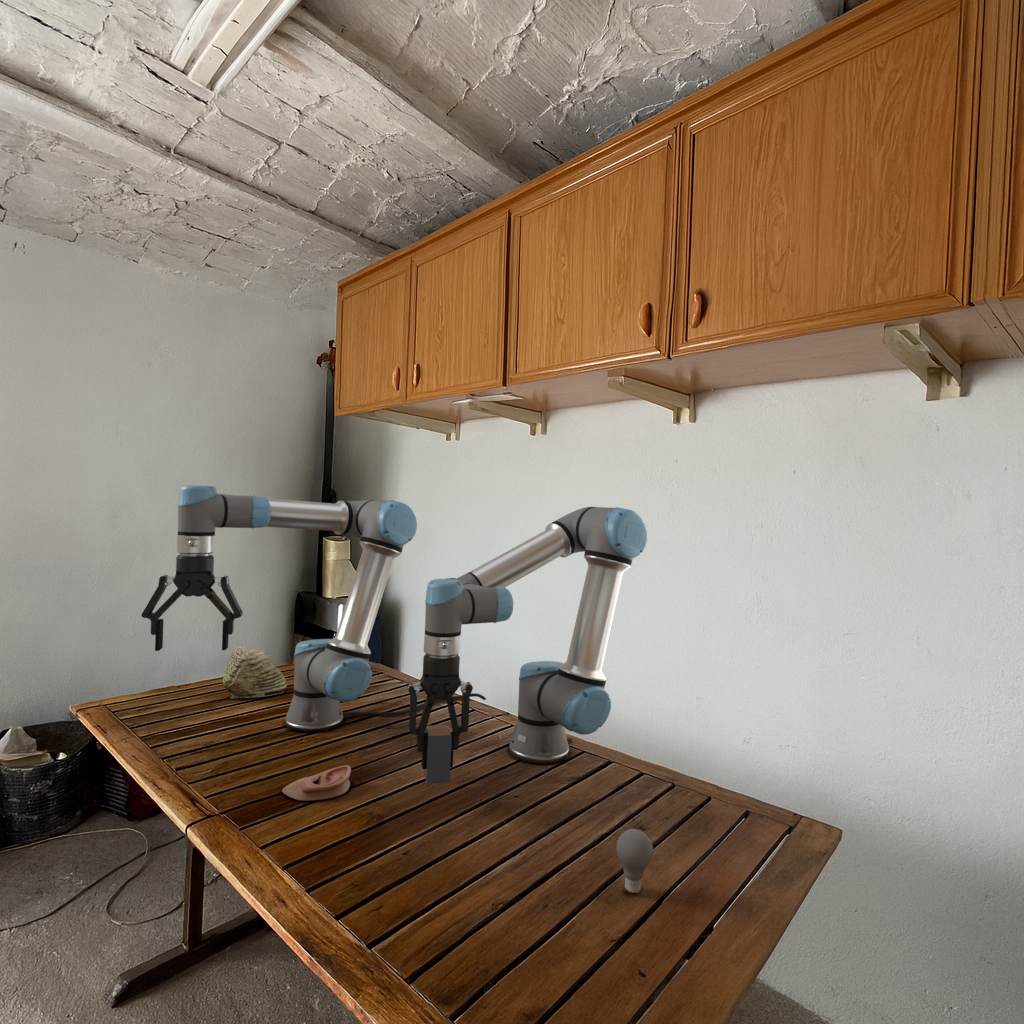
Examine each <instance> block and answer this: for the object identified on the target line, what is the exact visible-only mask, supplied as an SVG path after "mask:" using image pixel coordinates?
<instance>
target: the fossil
mask: <svg viewBox="0 0 1024 1024" xmlns="http://www.w3.org/2000/svg"><path fill="white" fill-rule="evenodd" d="M222 676H223V677H222V685H223V687H224V688H225V690H226V691H228V693H229V698H230V699H250V698H264V697H271V696H275V695H281V694H284V693H285V691H286V689H287V687H288V686H287V680H286V678H285V676H284V674H283V673H282V672H281V669H279V668H278V667H277V665H276V663H275V662H274V660H273V659H272V658H271V657H270V656H269V655H268V654H267V653H266V652H265V650H264V649H263V648H260V647H258V648H251V647H247V646H246V647H245V646H238V647H237V648H236V649H235V650H233V651H232V653H231V656H230V657H229V659H228V660H227V663H226V666H225V668H224V671H223V675H222Z"/></svg>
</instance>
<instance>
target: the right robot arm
mask: <svg viewBox="0 0 1024 1024" xmlns="http://www.w3.org/2000/svg"><path fill="white" fill-rule="evenodd" d="M647 531H648V530H647V526H646V523H644V522H643V518H642V517H641V516H640V514H639V513H637V512H636V511H635V510H632V509H628V508H623V507H618V506H617V507H606V506H605V507H603V506H602V507H601V506H585V507H582V508H579V509H576V510H573V511H571V512H569V513H567V514H565V515H563V516H561V517H560V518H557V519H556V520H554V521H552V522H550V523H548V524H547V525H546V526H545V530H544V531H541V532H540V533H538V534H536V535H535V536H532V537H531V538H529V539H527V540H525V541H523V542H521V543H520V544H518V545H516V546H515V547H512V548H511V549H509V550H507V551H505V552H503V553H501V554H499V555H498V556H496V557H494V558H492V559H490V560H488V561H487V562H485V563H483V564H481V565H480V566H478V567H476V568H474V569H472V570H470V571H469V572H467V573H464V574H461V576H458V577H457V578H456V577H446V578H435V579H431V580H429V581H428V583H427V585H426V586H427V587H426V593H425V599H424V603H425V614H424V615H425V617H424V635H423V636H424V638H423V653H424V655H423V658H422V676H421V678H420V680H419V681H418V682H416V683H408V684H407V689H408V694H409V709H410V712H408V714H409V716H408V730H409V734H410V735H415V736H416V749H417V750H416V751H417V752H418V753H421V763H420V765H421V768H422V770H424V769H426V765H427V742H428V737H427V733H426V727H427V726H428V724H429V721H430V720H429V719H430V716H431V712H432V709H433V706H434V705H435V703H434V701H435V700H440V699H441V700H445V701H446V706H447V711H448V715H449V721H450V725H451V730H452V731H450V732H451V734H452V742H451V764H450V769H453V768H454V751H458V750H459V746H460V736H461V734H462V733H467V732H468V731H469V723H470V722H469V720H470V701H471V700H470V698H471V697H470V695H471V694H472V692H473V689H474V687H473V684H472V683H471V681H467V682H466V681H463V680H462V679H461V677H460V665H461V664H460V661H461V657H460V655H459V654H460V653H461V635H462V625H474V624H490V623H494V624H496V623H500V622H505V621H507V620H509V619H510V618H511V616H512V615H513V612H514V598H513V595H512V593H511V591H510V590H509V589H508V586H510V585H512V584H513V583H516V582H517V581H519V580H521V579H522V578H524V577H526V576H528V575H530V574H531V573H533V572H535V571H537V570H538V569H540V568H542V567H544V566H546V565H547V564H549V563H551V562H552V561H554V560H556V559H558V558H564V559H565V558H567V557H569V556H571V555H573V554H576V553H583V552H584V555H583V558H584V559H585V561H586V563H587V569H586V574H585V578H584V582H583V587H582V590H581V595H580V600H579V605H578V609H577V612H576V613H577V614H576V618H575V623H574V627H573V632H572V636H571V641H570V645H569V648H568V655H567V658H566V661H565V662H564V663H563V662H562V661H555V660H540V661H538V660H537V661H530V662H526V663H523V665H521V667H520V668H519V669H520V670H519V675H518V676H519V677H518V681H519V682H518V683H519V684H518V705H517V722H516V724H515V726H514V730H513V733H512V734H511V735H512V736H511V738H510V740H509V745H508V746H509V750H508V751H509V753H510V755H511V756H512V757H514V758H516V759H518V760H520V761H524V762H526V763H530V764H531V763H532V764H541V765H544V764H545V765H547V764H556V763H559V762H562V761H564V760H567V758H568V757H569V755H570V754H569V753H570V746H569V743H570V742H573V738H571V737H567V734H566V730H567V731H569V732H573V733H576V734H578V735H584V736H586V735H591V734H594V733H595V732H597V731H598V729H599V728H602V726H603V725H604V724H605V723H606V721H607V720H608V718H609V716H610V713H611V708H612V699H611V698H610V694H609V693H608V691H607V690H606V683H607V677H606V675H605V673H604V672H603V667H604V663H605V658H606V653H607V647H608V643H609V640H610V639H609V638H610V634H611V629H612V624H613V620H614V616H615V611H616V607H617V603H618V598H619V593H620V588H621V585H622V579H623V574H624V573H625V572H626V571H628V570H630V569H631V567H632V563H633V559H635V558H637V557H639V556H640V555H641V553H643V552H644V550H645V549H646V546H647V543H648V532H647ZM459 688H460V691H461V696H462V699H461V709H460V710H461V712H460V715H461V716H460V724H459V722H458V717H457V713H456V708H455V702H454V699H453V696H454V695H455V693H456V692H457V691H458V690H459ZM420 689H422V690H423V692H424V693H425V694H426V697H425V702H424V703H425V705H424V707H423V709H422V711H421V716H420V719H419V723H418V726H417V710H418V709H417V706H418V696H417V695H419V694H420Z"/></svg>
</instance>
